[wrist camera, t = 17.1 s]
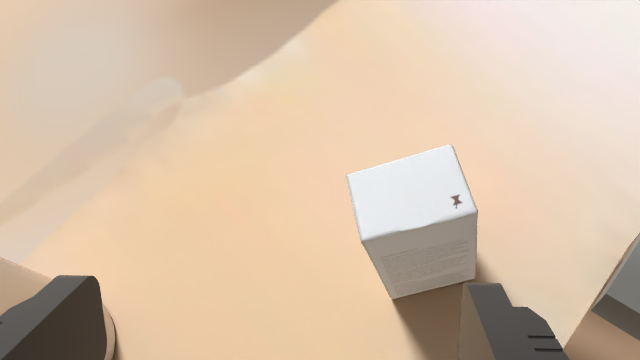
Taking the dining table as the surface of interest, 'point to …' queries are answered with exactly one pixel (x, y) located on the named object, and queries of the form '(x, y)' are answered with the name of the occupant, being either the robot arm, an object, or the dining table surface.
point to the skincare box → (417, 221)
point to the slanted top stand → (612, 316)
